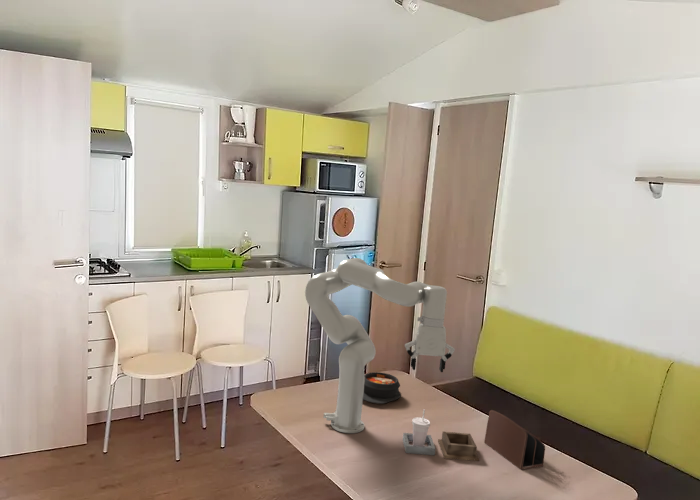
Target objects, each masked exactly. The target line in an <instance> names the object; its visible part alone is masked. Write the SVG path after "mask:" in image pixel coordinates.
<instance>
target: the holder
mask: <svg viewBox="0 0 700 500" xmlns="http://www.w3.org/2000/svg"><path fill="white" fill-rule="evenodd" d="M410 442H412V443H413V433H409V432H403V434H402V443H403V447H404V452H405V453H406V454H415V455H416V454H417V455H426V456H435V455H436V446H435V442H434V440H433V437H432V435H431V434H427V436H426V440H425V444H427V445H424V446H418V445H413V444H410Z"/></svg>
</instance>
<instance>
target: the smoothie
mask: <svg viewBox="0 0 700 500" xmlns="http://www.w3.org/2000/svg"><path fill="white" fill-rule="evenodd" d="M425 411H426V409H424V408H423V409H422V417H421V416H419V417H416V416H415V417H413V418H412V420H411V424H412V434H413V442H412V445H418V446H425V444H426V443H425V440H426V436H427V435H428V432H429V427H430V426H431V421H430V420H429V419H427V418H425Z"/></svg>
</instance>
